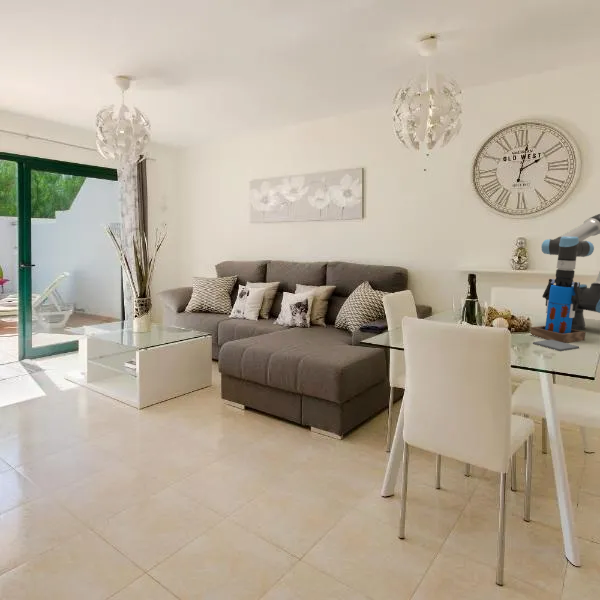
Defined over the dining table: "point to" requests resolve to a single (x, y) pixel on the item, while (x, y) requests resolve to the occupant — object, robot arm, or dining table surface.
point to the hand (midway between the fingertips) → (559, 315)
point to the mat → (556, 345)
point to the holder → (558, 335)
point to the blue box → (559, 309)
